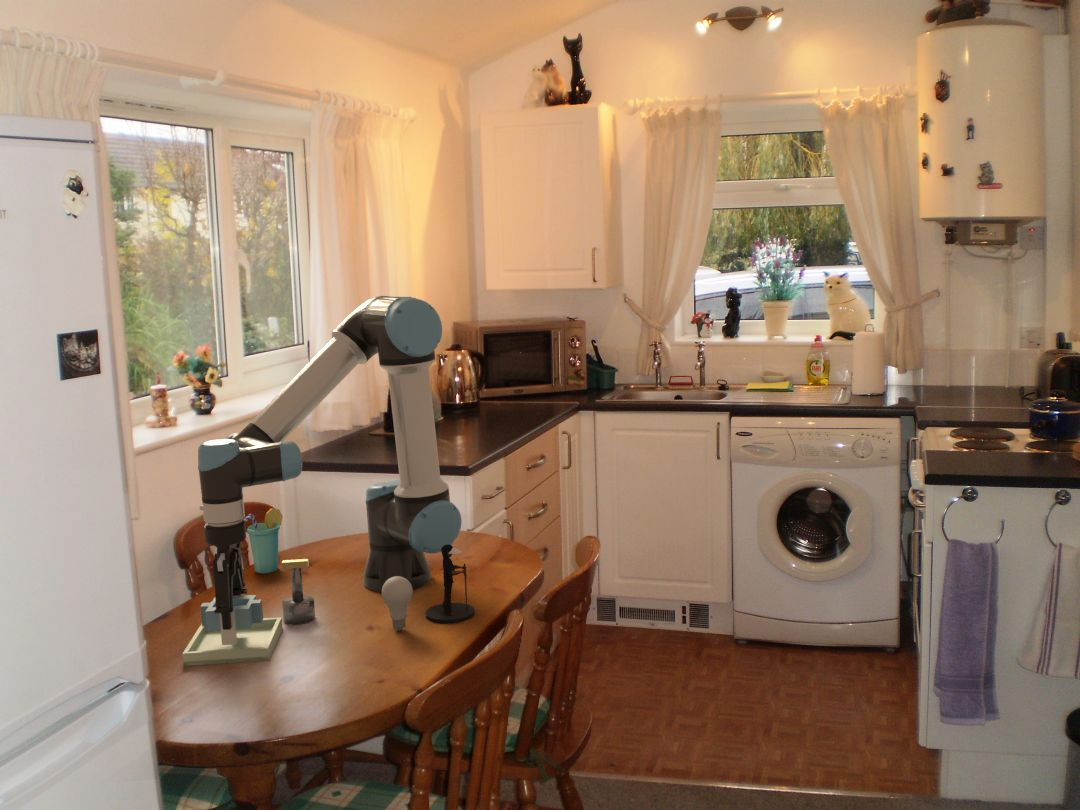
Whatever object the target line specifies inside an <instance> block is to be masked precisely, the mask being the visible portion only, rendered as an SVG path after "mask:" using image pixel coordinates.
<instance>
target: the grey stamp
mask: <svg viewBox="0 0 1080 810" xmlns="http://www.w3.org/2000/svg"><path fill="white" fill-rule="evenodd" d="M309 566H310V562H309V558H302V559H301V558H300V559H299V558H298V559H284V560H282V561H281V570H290V571H289V572H290V583H291V584H290V585H291V596H290V597H286V598H284V599H283V600H282V604H281V605H282V616H283V617H282V620H283V623H285V624H286V625H291V626H298V625H299V626H300V625H304V624H309V623H311V622H314V620H315V619H316V608H315V598H314V597H313V596H310V595H305V594H304V588H303V576H302V575H303V572H302V569H308V568H309Z"/></svg>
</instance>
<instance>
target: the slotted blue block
mask: <svg viewBox="0 0 1080 810" xmlns="http://www.w3.org/2000/svg"><path fill="white" fill-rule="evenodd" d="M199 607H200V616H201V624H202V626H207V632H209V631H221V628H220V617H219V613H214V610H216V599H215V596H214V597H213V600H211V601H210V602H202V603H201V605H200V606H199ZM233 610H234V611H235V622H236V630H241V629H250V628H251V626H252V624H253V623H262V621H263V618H264V612H263V611H264V610H263V602H262V599H257V595H256V594H251V595H250V594H249V595H248V594H245V595H243V596H233Z"/></svg>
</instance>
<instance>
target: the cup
mask: <svg viewBox="0 0 1080 810" xmlns="http://www.w3.org/2000/svg"><path fill="white" fill-rule="evenodd" d="M250 519H251V522H252V524H251V525H249V526H248V527H247V529H246V534H248V537H249V542H250V549H251V553H252V559H253V565H254V571H255V573H256V574H257V573H258V574H270V573H274V572H276V571H278V569H279V531H280V526H282V521H283V514H282V513H281V511H280V509H277V508H269V510H267V512H265V516H264V521H263V522H258V523H257V519H256V518H255V515H254V514H252V513H248V515H247V516H245V517H244V518H243V519H242V520H244V521H245V523H247V522H248V521H249V520H250Z"/></svg>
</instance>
